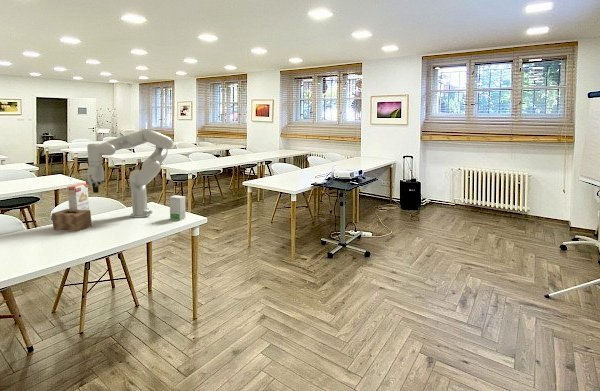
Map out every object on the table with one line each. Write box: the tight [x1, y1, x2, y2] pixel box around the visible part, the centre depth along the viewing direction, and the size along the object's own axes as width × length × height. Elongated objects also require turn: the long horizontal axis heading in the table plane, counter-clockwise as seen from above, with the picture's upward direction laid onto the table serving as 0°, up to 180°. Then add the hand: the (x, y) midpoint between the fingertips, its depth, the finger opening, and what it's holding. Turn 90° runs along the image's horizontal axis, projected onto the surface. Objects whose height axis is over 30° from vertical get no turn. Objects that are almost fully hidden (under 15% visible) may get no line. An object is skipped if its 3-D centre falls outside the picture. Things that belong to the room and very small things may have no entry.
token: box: [90, 183, 104, 196], centre depth 238 cm, size 6×3×6 cm, turn 81°
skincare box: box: [169, 194, 186, 221], centre depth 250 cm, size 8×7×16 cm
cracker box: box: [66, 182, 90, 210], centre depth 254 cm, size 14×6×21 cm, turn 179°
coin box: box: [51, 208, 93, 233], centre depth 226 cm, size 16×12×10 cm
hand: (97, 191), depth 238 cm, fingers closed on token, 3 cm apart
